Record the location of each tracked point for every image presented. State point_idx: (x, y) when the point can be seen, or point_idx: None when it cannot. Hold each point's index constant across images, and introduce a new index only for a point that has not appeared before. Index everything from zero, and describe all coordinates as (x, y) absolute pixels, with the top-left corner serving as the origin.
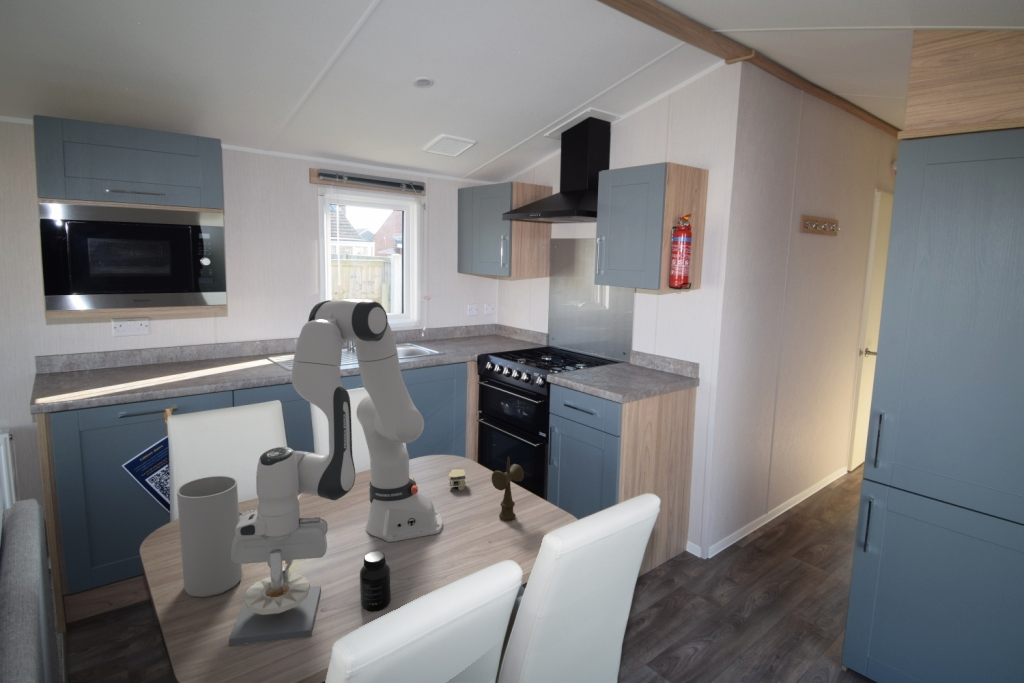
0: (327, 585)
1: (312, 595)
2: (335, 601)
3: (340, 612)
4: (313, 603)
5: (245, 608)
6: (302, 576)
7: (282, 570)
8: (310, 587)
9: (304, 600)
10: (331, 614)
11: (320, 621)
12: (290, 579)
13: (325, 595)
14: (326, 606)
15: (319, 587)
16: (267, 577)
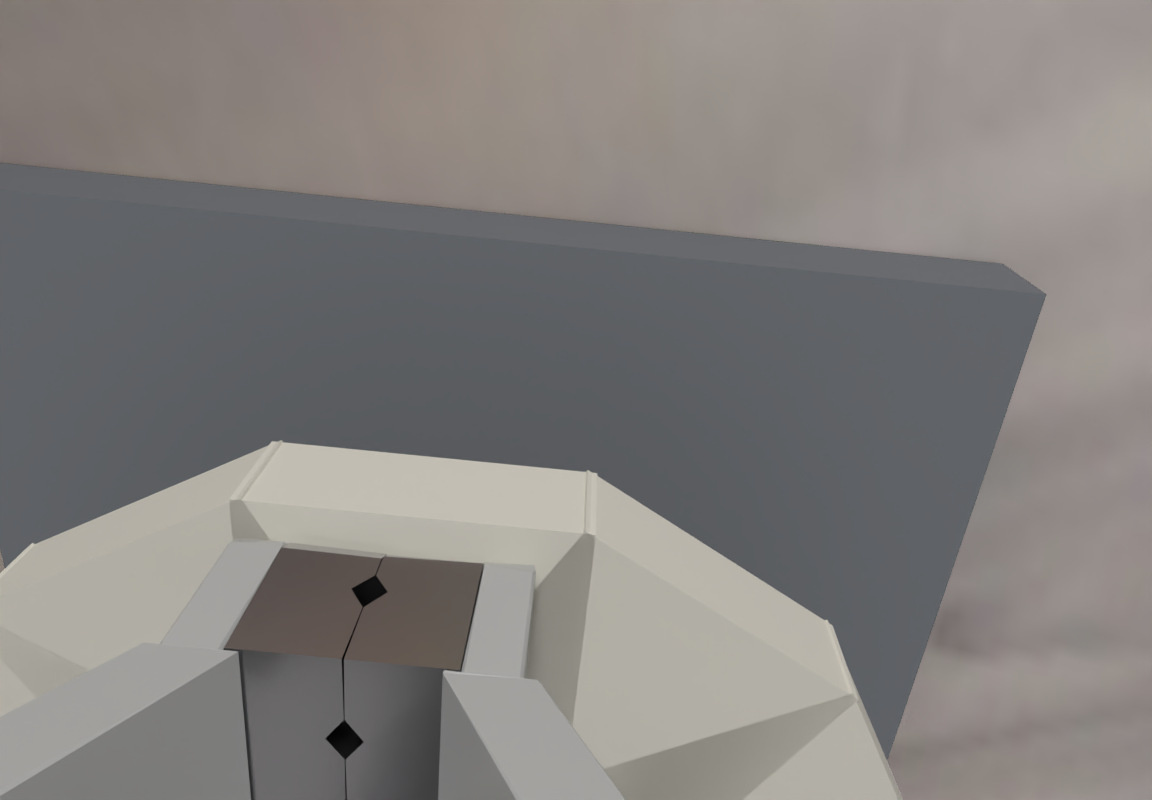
0: (1130, 113)
1: (885, 497)
2: (1133, 523)
3: (1129, 710)
4: (878, 653)
5: (40, 541)
6: (829, 707)
7: (390, 791)
8: (878, 295)
9: (771, 572)
10: (1030, 716)
11: (902, 778)
12: (592, 732)
13: (1042, 368)
14: (1007, 583)
15: (1015, 332)
16: (94, 568)
